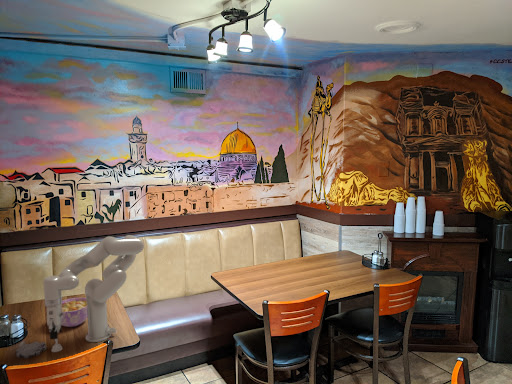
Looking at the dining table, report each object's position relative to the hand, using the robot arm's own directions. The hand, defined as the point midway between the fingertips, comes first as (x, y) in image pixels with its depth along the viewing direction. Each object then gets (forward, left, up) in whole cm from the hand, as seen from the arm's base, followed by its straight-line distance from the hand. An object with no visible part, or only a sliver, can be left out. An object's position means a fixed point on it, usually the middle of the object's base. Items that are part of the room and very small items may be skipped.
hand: (55, 335), depth 189 cm
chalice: (0, 0, -8) cm, 8 cm away
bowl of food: (-1, -28, -8) cm, 29 cm away
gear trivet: (+12, -1, -8) cm, 14 cm away
